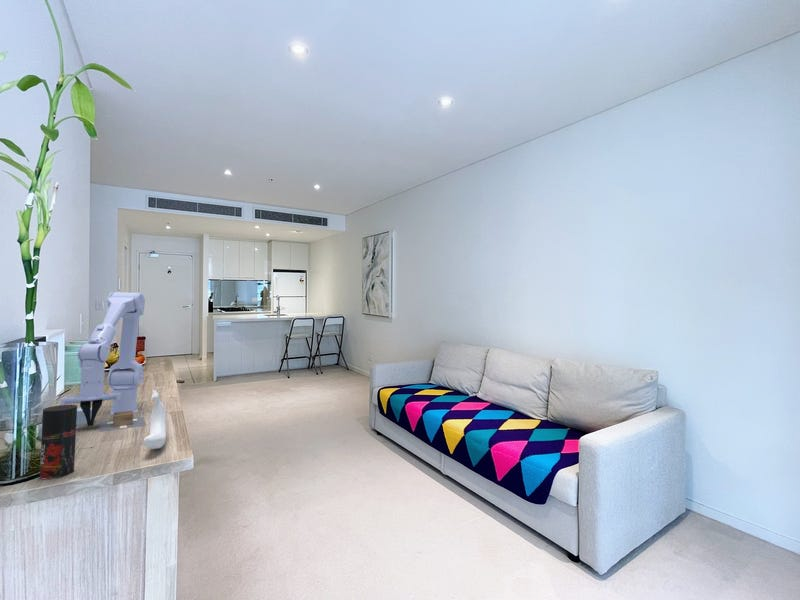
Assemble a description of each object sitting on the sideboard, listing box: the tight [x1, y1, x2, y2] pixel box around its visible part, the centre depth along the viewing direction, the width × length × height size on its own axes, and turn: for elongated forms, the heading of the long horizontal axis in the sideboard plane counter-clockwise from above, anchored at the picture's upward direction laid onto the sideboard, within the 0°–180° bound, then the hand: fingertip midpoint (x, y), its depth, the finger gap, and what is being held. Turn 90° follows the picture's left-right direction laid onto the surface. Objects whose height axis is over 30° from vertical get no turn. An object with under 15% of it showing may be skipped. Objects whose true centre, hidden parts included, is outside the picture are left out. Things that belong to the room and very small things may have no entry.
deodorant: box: [39, 404, 78, 480], centre depth 88 cm, size 6×6×15 cm
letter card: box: [98, 416, 147, 433], centre depth 124 cm, size 12×12×1 cm
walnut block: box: [112, 410, 134, 427], centre depth 125 cm, size 5×5×4 cm
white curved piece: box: [142, 389, 167, 450], centre depth 106 cm, size 5×19×15 cm, turn 30°
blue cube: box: [76, 406, 92, 426], centre depth 125 cm, size 5×5×5 cm
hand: (90, 425), depth 119 cm, fingers closed
